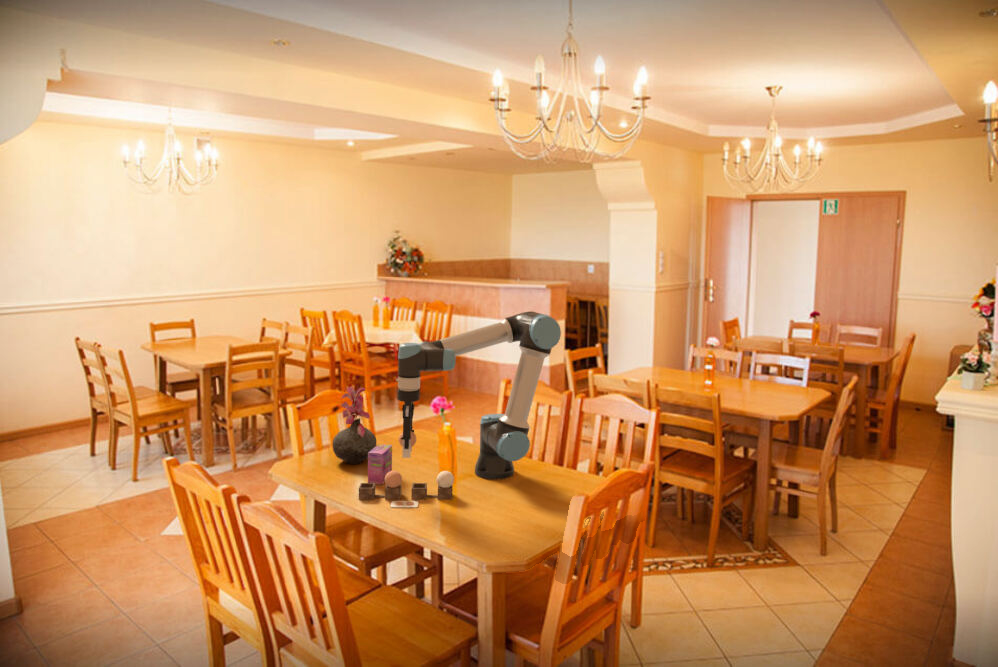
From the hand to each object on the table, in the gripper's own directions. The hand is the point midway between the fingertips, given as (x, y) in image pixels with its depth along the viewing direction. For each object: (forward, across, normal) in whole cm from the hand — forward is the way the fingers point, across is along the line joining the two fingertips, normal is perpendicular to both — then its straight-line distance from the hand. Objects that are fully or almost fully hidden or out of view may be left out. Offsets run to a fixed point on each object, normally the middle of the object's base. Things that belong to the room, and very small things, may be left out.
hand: (407, 454), depth 226 cm
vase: (+16, -37, -23) cm, 46 cm away
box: (+16, -17, -11) cm, 26 cm away
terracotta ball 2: (-2, 0, 0) cm, 2 cm away
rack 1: (+16, 0, -9) cm, 18 cm away
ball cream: (+12, 0, +14) cm, 18 cm away
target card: (+15, +7, 0) cm, 17 cm away
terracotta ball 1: (+12, 0, -4) cm, 13 cm away
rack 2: (+15, 0, +9) cm, 18 cm away
